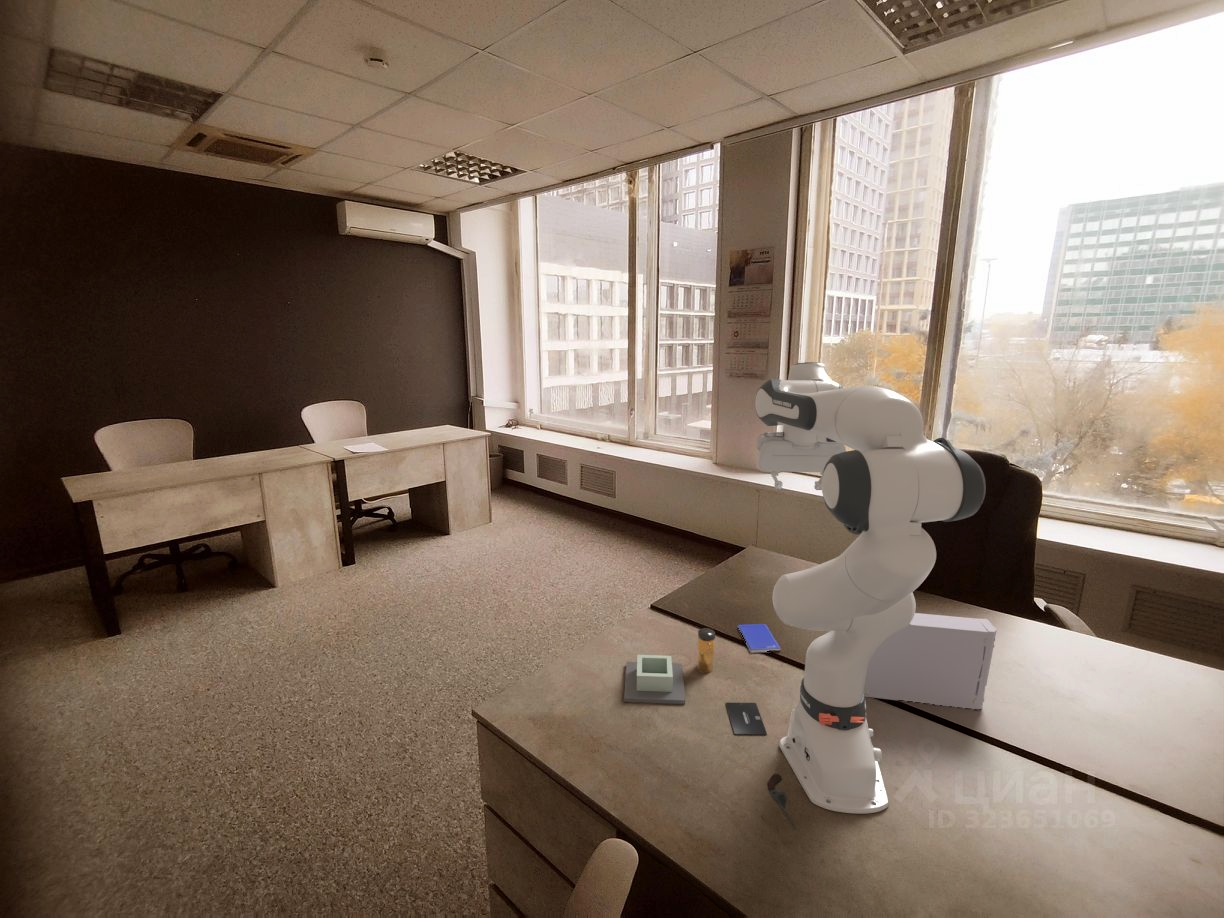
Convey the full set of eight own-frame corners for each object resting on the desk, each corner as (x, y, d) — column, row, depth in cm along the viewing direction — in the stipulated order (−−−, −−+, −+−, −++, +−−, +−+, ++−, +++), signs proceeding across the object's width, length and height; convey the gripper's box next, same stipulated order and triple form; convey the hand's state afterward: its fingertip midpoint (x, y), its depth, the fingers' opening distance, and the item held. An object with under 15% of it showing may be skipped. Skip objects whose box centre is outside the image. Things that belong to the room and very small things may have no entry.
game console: (985, 712, 122) (1000, 633, 118) (856, 696, 128) (865, 620, 123) (974, 695, 128) (988, 619, 123) (850, 681, 133) (859, 607, 128)
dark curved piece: (760, 778, 105) (760, 775, 105) (779, 775, 106) (779, 772, 106) (801, 845, 92) (801, 842, 92) (822, 841, 93) (822, 837, 93)
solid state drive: (755, 705, 126) (755, 702, 125) (767, 737, 116) (767, 734, 116) (725, 704, 126) (725, 702, 126) (734, 736, 116) (734, 734, 116)
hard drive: (781, 648, 145) (765, 623, 157) (750, 649, 145) (737, 624, 157) (780, 653, 145) (765, 628, 157) (750, 654, 145) (737, 629, 157)
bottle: (714, 673, 136) (716, 637, 134) (697, 672, 137) (699, 637, 134) (712, 663, 140) (714, 628, 138) (696, 662, 141) (697, 627, 138)
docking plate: (685, 704, 125) (685, 685, 124) (624, 701, 126) (624, 682, 125) (681, 667, 139) (682, 649, 138) (626, 665, 140) (626, 647, 139)
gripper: (760, 434, 125) (756, 492, 128) (851, 435, 123) (846, 493, 127) (755, 429, 131) (751, 484, 134) (842, 430, 130) (837, 486, 133)
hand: (798, 489), depth 130 cm, fingers open, 8 cm apart
